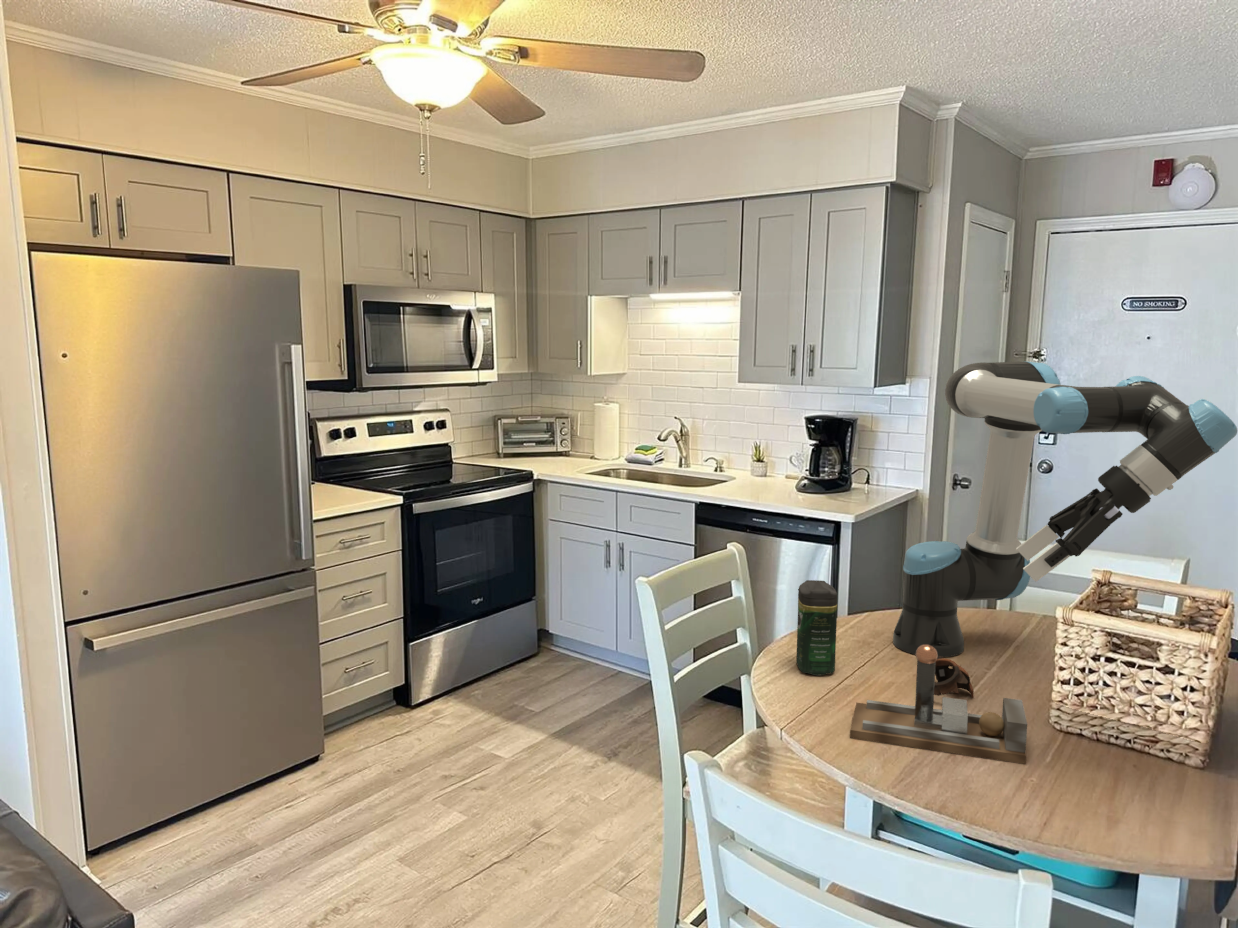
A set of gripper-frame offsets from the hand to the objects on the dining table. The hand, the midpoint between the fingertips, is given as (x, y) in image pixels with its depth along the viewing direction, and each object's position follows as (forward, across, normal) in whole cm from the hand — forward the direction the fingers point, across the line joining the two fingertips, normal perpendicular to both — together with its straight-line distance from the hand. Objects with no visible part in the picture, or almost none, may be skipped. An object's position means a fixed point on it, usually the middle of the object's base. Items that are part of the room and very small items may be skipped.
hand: (1025, 564), depth 143 cm
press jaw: (+30, -2, -13) cm, 32 cm away
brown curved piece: (+30, +18, -15) cm, 38 cm away
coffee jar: (+48, +23, +3) cm, 54 cm away
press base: (+31, -2, -13) cm, 34 cm away
